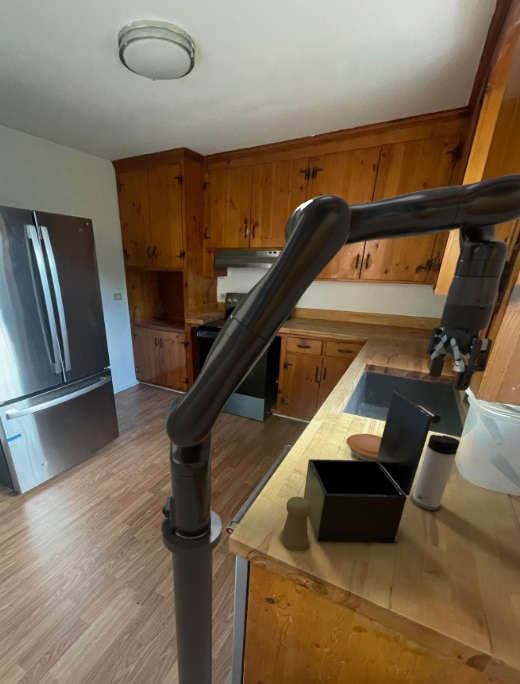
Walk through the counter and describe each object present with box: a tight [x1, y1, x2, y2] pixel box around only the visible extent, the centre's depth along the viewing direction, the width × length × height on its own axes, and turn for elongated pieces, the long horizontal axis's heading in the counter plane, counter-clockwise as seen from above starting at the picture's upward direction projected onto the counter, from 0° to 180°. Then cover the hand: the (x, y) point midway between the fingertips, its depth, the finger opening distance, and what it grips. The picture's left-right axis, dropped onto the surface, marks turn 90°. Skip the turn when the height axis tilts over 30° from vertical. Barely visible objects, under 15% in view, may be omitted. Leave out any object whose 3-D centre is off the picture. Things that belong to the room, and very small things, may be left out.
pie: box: [346, 433, 382, 462], centre depth 111 cm, size 15×16×5 cm
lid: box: [377, 390, 442, 496], centre depth 73 cm, size 19×15×6 cm
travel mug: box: [412, 434, 461, 511], centre depth 85 cm, size 6×7×20 cm
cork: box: [280, 495, 311, 551], centre depth 73 cm, size 6×6×11 cm
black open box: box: [303, 458, 408, 544], centre depth 80 cm, size 18×15×13 cm
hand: (446, 382), depth 68 cm, fingers open, 8 cm apart
